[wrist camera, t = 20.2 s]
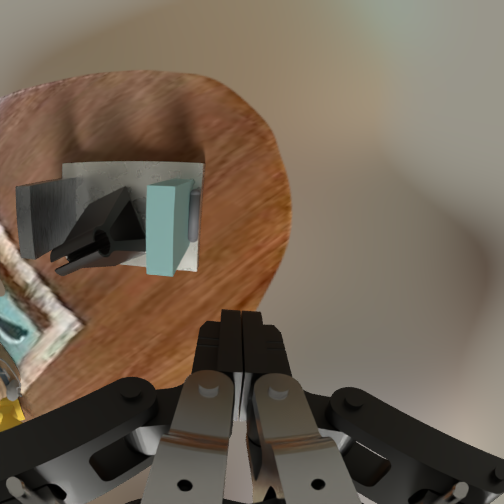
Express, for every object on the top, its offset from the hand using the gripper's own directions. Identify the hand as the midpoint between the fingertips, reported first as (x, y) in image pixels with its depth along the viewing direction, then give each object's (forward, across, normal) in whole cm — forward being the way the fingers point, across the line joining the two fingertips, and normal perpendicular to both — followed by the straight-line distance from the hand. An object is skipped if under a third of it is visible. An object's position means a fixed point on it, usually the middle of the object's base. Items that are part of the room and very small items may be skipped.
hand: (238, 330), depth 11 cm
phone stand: (+24, +15, +2) cm, 28 cm away
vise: (+26, +15, 0) cm, 30 cm away
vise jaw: (+24, +6, 0) cm, 24 cm away
